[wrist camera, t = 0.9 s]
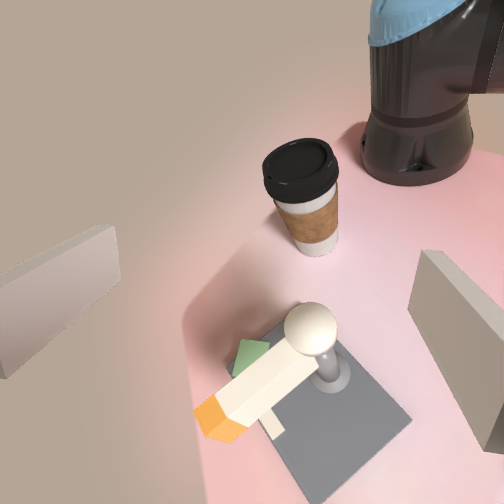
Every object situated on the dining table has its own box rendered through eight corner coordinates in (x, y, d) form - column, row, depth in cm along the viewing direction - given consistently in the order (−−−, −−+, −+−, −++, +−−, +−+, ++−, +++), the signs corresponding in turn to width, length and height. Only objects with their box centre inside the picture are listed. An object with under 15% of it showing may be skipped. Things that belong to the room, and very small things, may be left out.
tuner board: (297, 300, 42) (295, 295, 41) (411, 421, 32) (412, 419, 30) (223, 360, 41) (218, 356, 40) (315, 509, 30) (313, 510, 29)
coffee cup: (276, 241, 49) (244, 163, 37) (320, 208, 50) (302, 123, 38) (313, 276, 44) (288, 199, 32) (361, 238, 45) (354, 151, 33)
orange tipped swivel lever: (330, 344, 36) (312, 292, 27) (356, 373, 34) (347, 328, 24) (236, 423, 35) (182, 398, 25) (257, 459, 32) (205, 447, 23)
